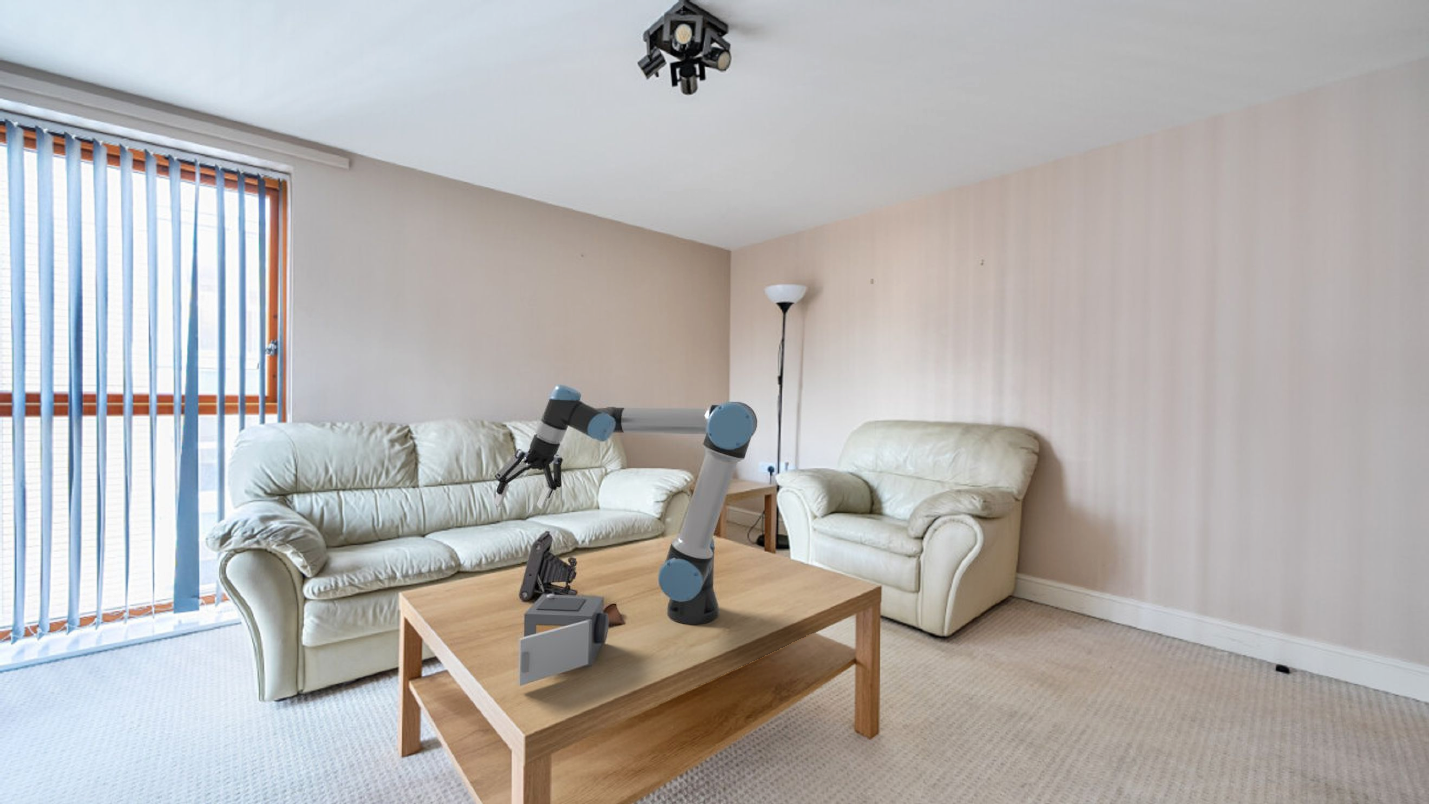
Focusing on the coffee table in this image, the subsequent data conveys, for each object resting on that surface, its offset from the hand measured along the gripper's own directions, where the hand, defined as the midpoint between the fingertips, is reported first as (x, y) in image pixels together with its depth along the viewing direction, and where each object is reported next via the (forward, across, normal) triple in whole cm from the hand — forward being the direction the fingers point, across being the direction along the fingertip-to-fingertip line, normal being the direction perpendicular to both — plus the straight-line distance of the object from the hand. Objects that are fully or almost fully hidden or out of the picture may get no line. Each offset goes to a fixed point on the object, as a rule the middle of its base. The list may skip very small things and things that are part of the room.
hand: (519, 505), depth 151 cm
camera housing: (+20, -4, +37) cm, 43 cm away
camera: (+29, -22, +3) cm, 36 cm away
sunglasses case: (+21, -17, +28) cm, 39 cm away
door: (+18, +6, +45) cm, 49 cm away
